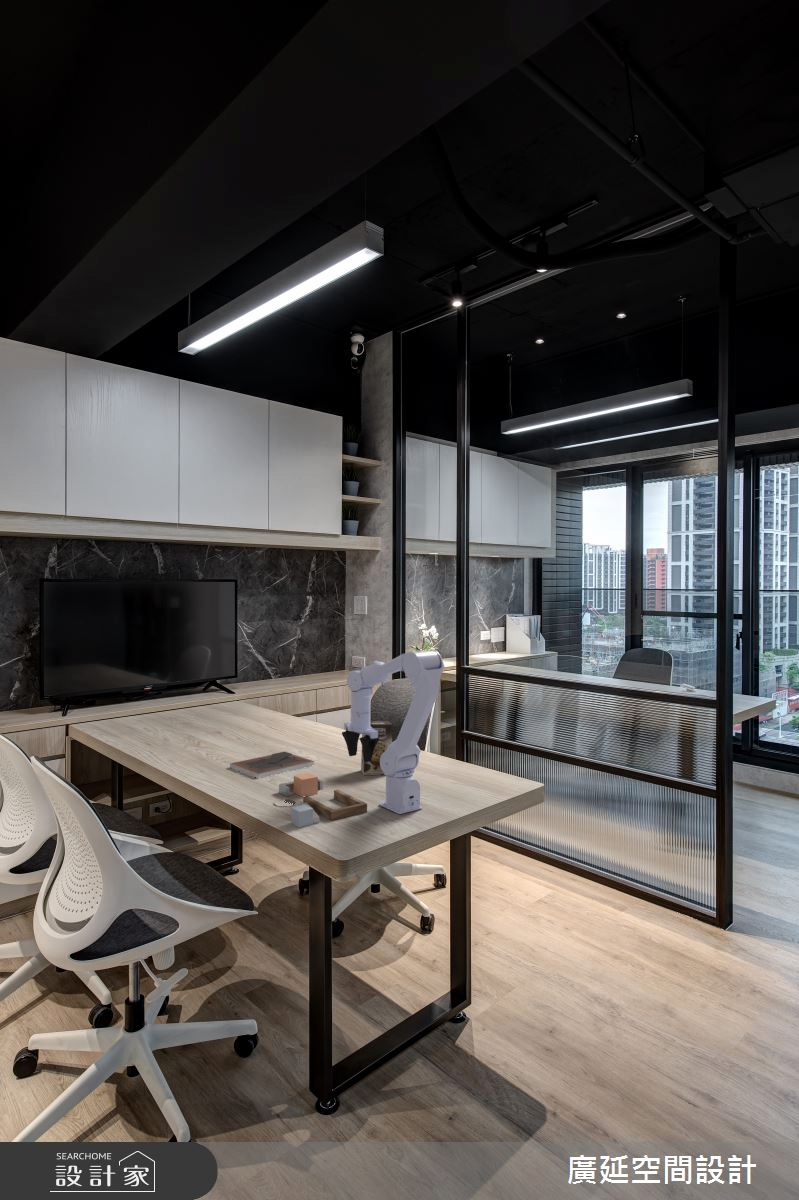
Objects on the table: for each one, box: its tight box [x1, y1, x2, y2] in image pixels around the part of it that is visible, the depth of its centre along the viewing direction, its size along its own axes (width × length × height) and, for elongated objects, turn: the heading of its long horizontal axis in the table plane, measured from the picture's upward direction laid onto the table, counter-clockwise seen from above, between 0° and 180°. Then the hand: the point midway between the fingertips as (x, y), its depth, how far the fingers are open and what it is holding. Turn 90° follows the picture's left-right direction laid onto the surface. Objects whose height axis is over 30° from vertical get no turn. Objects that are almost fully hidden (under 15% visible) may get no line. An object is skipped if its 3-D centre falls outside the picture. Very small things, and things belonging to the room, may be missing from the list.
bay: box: [302, 789, 368, 821], centre depth 175 cm, size 15×11×2 cm
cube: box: [293, 772, 319, 798], centre depth 188 cm, size 5×5×5 cm
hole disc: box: [284, 798, 297, 806], centre depth 179 cm, size 6×6×1 cm
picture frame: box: [229, 751, 315, 780], centre depth 214 cm, size 16×2×22 cm
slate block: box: [290, 804, 314, 828], centre depth 164 cm, size 4×4×4 cm
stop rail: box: [278, 778, 324, 797], centre depth 190 cm, size 4×12×2 cm, turn 128°
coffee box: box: [360, 720, 393, 776], centre depth 210 cm, size 9×6×16 cm
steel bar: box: [300, 802, 320, 824], centre depth 170 cm, size 12×2×2 cm, turn 23°
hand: (360, 758), depth 189 cm, fingers open, 7 cm apart
